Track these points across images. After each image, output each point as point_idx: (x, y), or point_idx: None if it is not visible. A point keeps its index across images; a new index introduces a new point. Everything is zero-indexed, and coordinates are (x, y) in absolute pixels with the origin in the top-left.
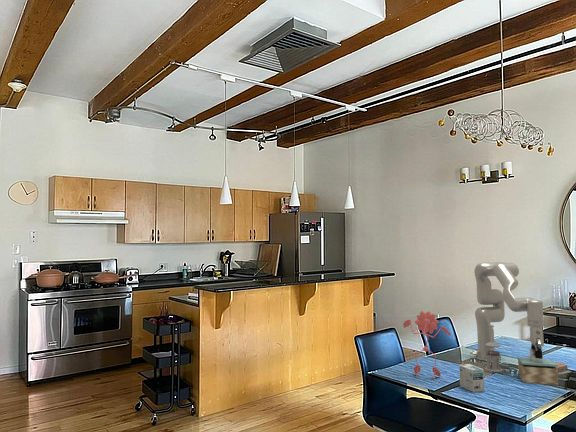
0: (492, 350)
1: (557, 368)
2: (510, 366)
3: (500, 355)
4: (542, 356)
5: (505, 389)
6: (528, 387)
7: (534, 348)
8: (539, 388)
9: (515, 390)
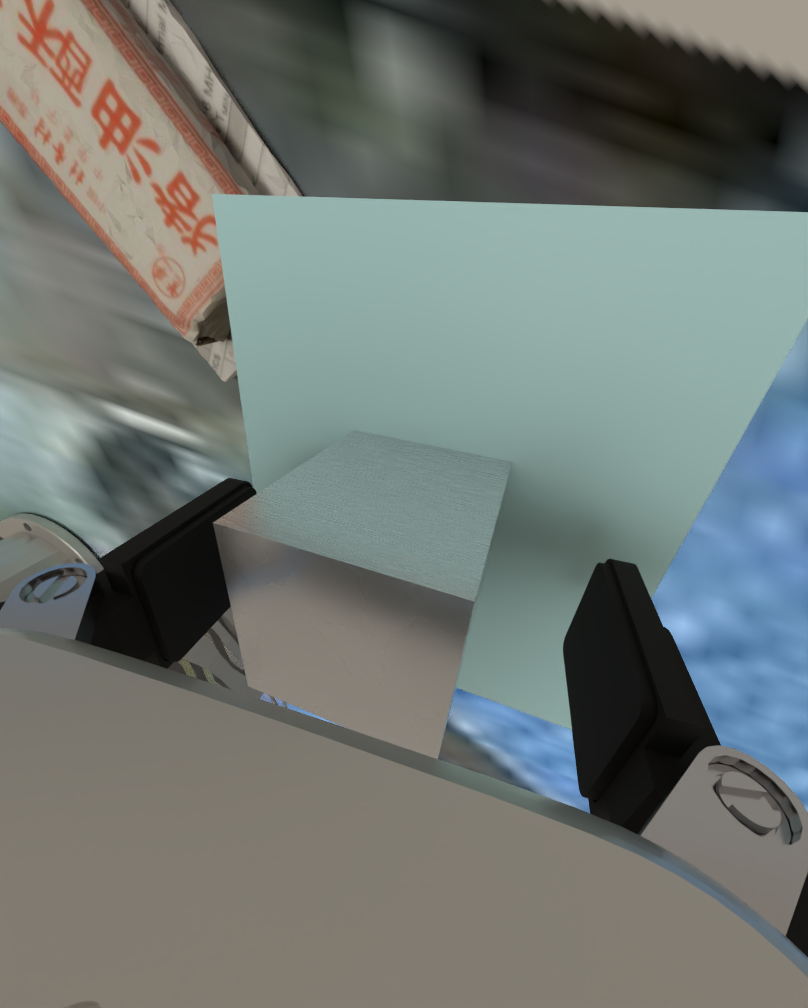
0: (7, 588)
1: (157, 82)
2: (155, 496)
3: (186, 657)
4: (496, 511)
5: (725, 731)
6: (703, 587)
7: (191, 596)
8: (754, 516)
9: (766, 694)
